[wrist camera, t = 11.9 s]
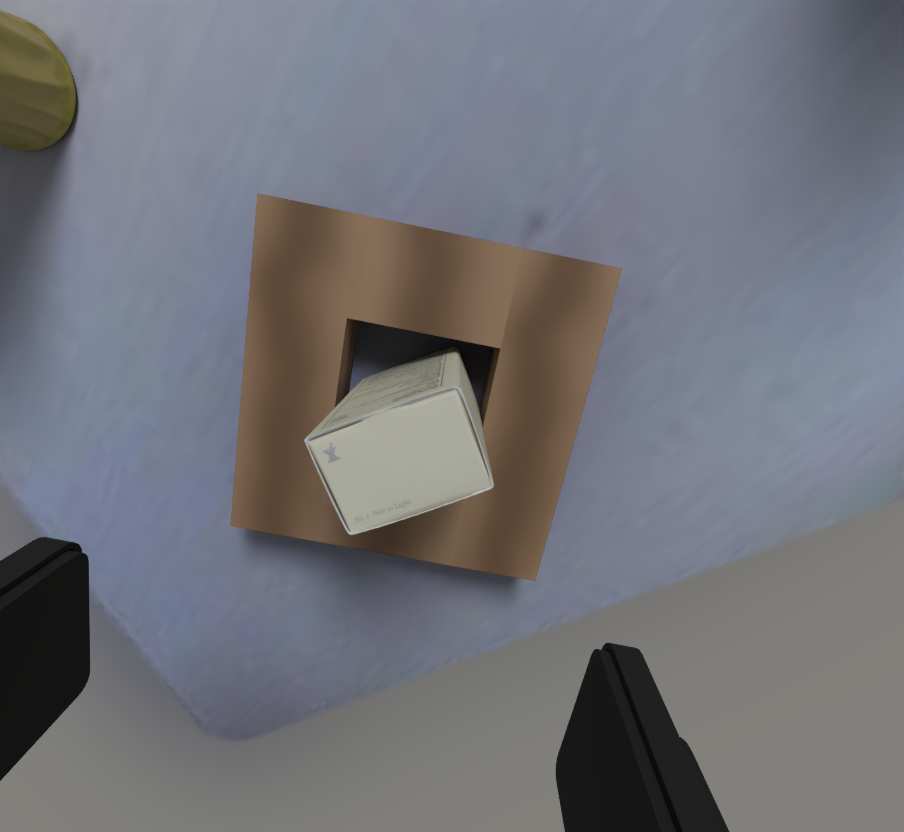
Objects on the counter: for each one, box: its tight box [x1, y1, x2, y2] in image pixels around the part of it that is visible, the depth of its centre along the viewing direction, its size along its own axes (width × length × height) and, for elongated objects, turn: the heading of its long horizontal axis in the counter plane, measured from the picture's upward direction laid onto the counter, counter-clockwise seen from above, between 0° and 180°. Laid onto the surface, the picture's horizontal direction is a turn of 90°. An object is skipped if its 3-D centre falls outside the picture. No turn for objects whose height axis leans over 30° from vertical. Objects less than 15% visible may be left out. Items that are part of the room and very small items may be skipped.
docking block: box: [231, 193, 622, 581], centre depth 28 cm, size 18×18×4 cm
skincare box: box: [304, 347, 494, 535], centre depth 24 cm, size 6×4×12 cm
